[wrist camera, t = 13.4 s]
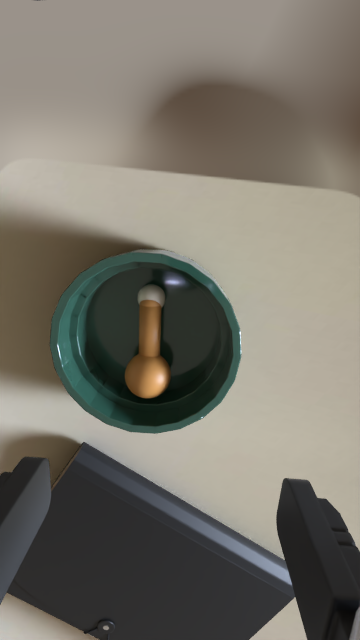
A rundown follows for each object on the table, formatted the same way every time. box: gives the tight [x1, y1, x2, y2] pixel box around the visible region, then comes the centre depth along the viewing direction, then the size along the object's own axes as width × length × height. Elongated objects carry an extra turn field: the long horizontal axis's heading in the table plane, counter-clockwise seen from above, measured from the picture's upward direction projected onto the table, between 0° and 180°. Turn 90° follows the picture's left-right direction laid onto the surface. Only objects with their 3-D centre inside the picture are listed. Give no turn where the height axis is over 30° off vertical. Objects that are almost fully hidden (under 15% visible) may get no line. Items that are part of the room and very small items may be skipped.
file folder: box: [7, 442, 295, 640], centre depth 42 cm, size 33×4×24 cm
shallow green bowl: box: [50, 249, 241, 433], centre depth 32 cm, size 18×18×6 cm
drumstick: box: [125, 284, 171, 398], centre depth 32 cm, size 12×5×5 cm, turn 177°
